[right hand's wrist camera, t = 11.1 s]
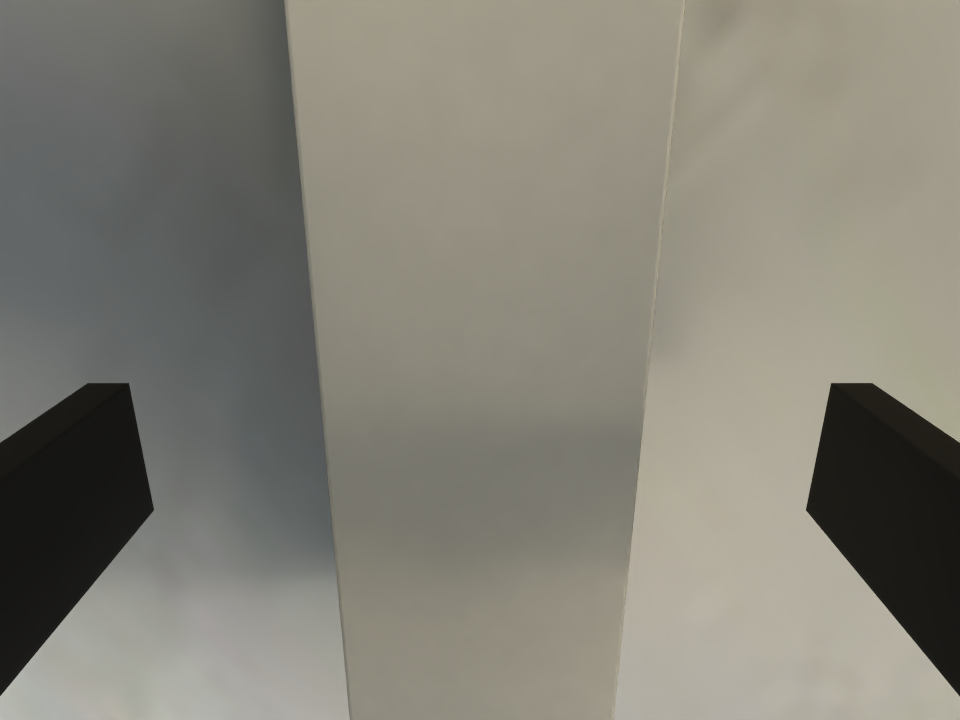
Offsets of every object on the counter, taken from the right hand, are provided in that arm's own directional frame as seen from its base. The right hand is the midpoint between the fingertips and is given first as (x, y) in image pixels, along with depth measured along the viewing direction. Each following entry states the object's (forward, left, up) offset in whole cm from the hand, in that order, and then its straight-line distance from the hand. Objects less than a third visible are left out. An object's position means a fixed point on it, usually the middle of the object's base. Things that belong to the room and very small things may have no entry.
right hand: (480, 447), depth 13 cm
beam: (+2, -18, -5) cm, 19 cm away
